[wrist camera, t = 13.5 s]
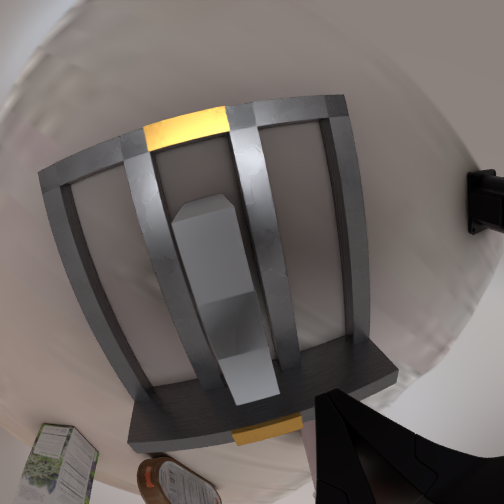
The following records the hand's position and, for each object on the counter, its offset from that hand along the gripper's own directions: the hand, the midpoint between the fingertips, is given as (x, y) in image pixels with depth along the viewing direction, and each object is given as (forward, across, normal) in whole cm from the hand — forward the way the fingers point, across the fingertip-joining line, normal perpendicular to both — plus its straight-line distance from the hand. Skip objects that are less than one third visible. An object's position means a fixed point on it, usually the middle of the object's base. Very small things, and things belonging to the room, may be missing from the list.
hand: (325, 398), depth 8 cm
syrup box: (+11, +26, +15) cm, 32 cm away
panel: (+11, +2, -1) cm, 12 cm away
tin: (+11, +14, +24) cm, 30 cm away
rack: (+11, +2, -1) cm, 11 cm away
